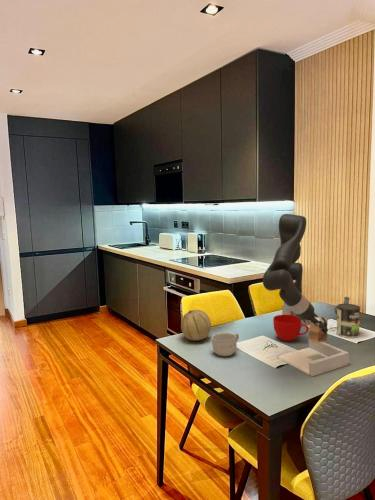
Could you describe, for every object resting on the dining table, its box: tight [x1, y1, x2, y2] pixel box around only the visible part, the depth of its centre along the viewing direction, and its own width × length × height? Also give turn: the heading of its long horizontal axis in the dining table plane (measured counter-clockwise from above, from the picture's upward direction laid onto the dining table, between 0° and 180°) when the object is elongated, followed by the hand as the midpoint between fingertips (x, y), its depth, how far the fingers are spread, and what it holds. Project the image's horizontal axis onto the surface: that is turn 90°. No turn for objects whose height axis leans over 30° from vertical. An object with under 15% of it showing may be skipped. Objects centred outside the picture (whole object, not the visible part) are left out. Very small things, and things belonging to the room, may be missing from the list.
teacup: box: [211, 332, 240, 357], centre depth 159 cm, size 14×11×8 cm
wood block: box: [308, 316, 328, 343], centre depth 148 cm, size 5×5×9 cm
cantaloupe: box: [180, 309, 212, 341], centre depth 175 cm, size 15×15×15 cm
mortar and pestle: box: [334, 296, 351, 316], centre depth 198 cm, size 11×9×12 cm
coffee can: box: [336, 303, 361, 339], centre depth 176 cm, size 10×10×14 cm
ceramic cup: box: [272, 314, 310, 342], centre depth 171 cm, size 13×17×10 cm
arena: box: [276, 339, 350, 377], centre depth 148 cm, size 20×20×5 cm
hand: (321, 329), depth 149 cm, fingers closed on wood block, 4 cm apart
